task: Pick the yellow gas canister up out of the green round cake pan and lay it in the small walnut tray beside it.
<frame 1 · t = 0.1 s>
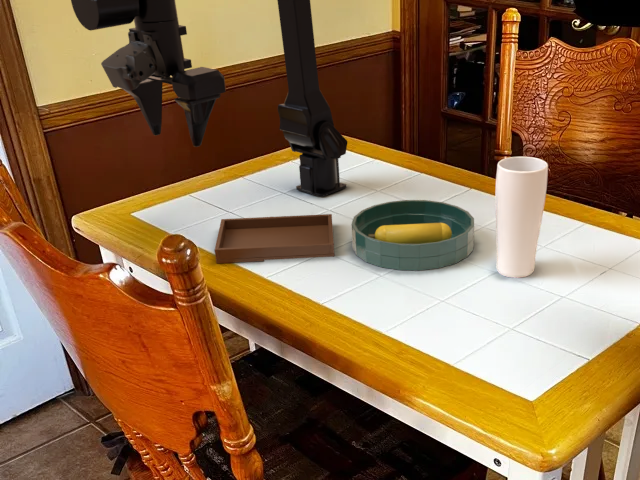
hand: (176, 140, 121), 15 cm above the table, tool pointing down, fingers open, 9 cm apart
green round cake pan: (413, 247, 127), on the table
yellow gas canister: (413, 245, 126), resting on green round cake pan
drinking glass: (514, 273, 119), on the table
tray: (277, 244, 128), on the table
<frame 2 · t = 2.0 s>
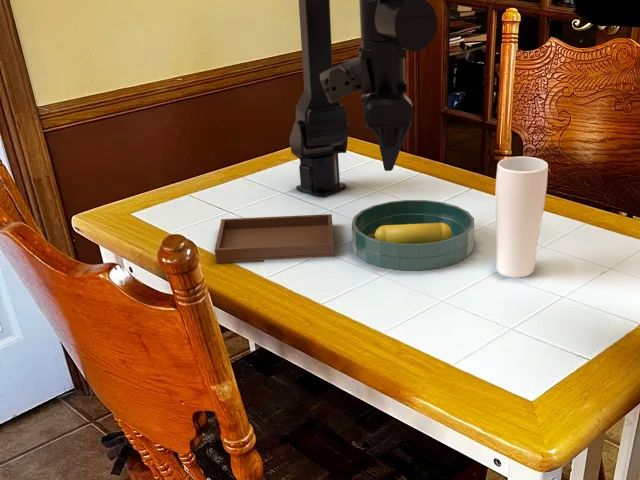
hand: (386, 160, 119), 13 cm above the table, tool pointing down, fingers open, 9 cm apart
nothing on the table moved.
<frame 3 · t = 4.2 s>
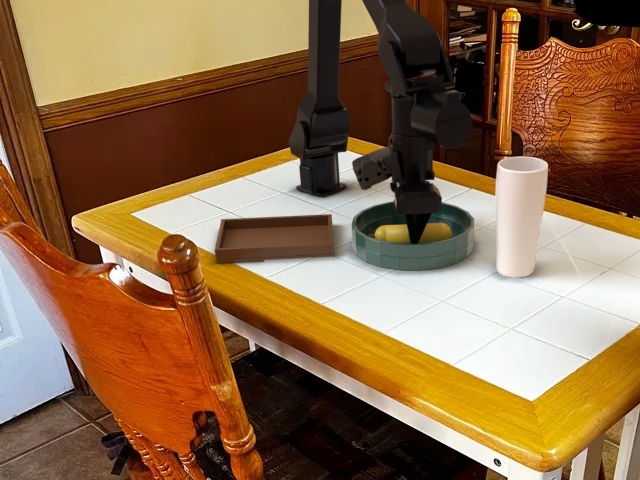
hand: (413, 239, 126), 1 cm above the table, tool pointing down, fingers closed on yellow gas canister, 3 cm apart
yellow gas canister: (413, 245, 126), resting on green round cake pan, touching gripper
everything else where it was.
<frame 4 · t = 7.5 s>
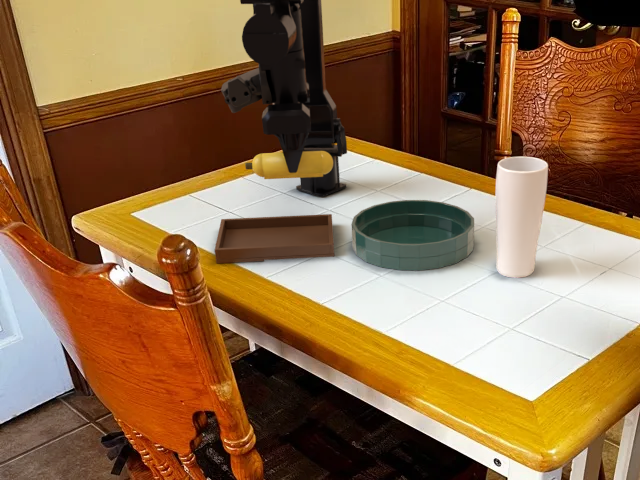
hand: (293, 168, 121), 11 cm above the table, tool pointing down, fingers closed on yellow gas canister, 3 cm apart
yellow gas canister: (293, 175, 121), point 10 cm above the table, touching gripper
everything else where it was.
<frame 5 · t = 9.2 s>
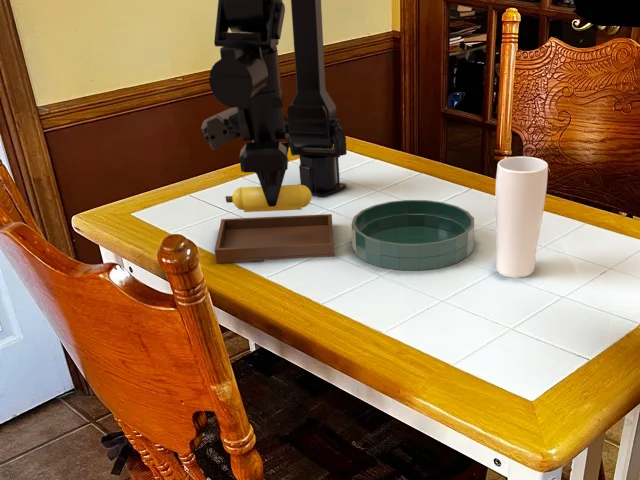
hand: (272, 201, 124), 7 cm above the table, tool pointing down, fingers closed on yellow gas canister, 3 cm apart
yellow gas canister: (273, 208, 125), point 6 cm above the table, touching gripper
everything else where it was.
when the fingers open (2 cm above the table, at t = 10.9 s): yellow gas canister stays where it is, resting on tray.
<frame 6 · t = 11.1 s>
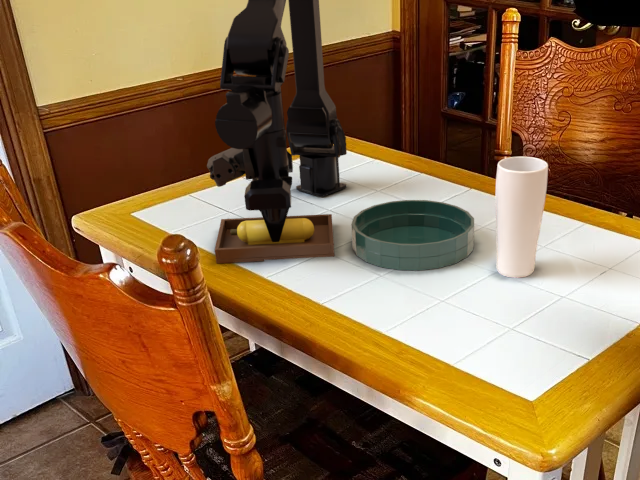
hand: (276, 235, 127), 1 cm above the table, tool pointing down, fingers open, 4 cm apart
yellow gas canister: (276, 240, 128), point 1 cm above the table, touching tray
everything else where it was.
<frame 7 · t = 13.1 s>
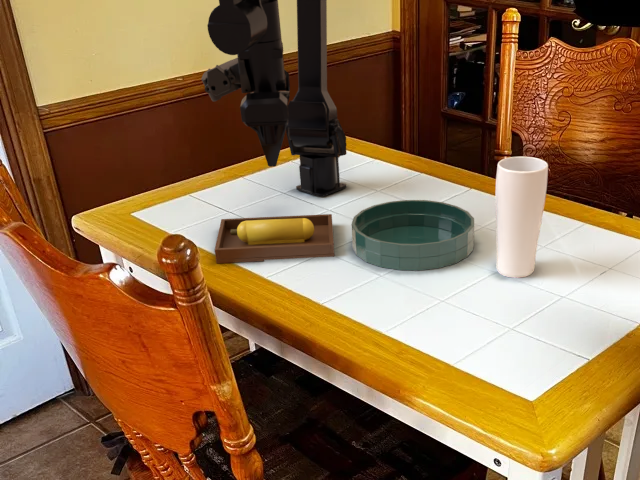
hand: (273, 156, 124), 12 cm above the table, tool pointing down, fingers open, 9 cm apart
nothing on the table moved.
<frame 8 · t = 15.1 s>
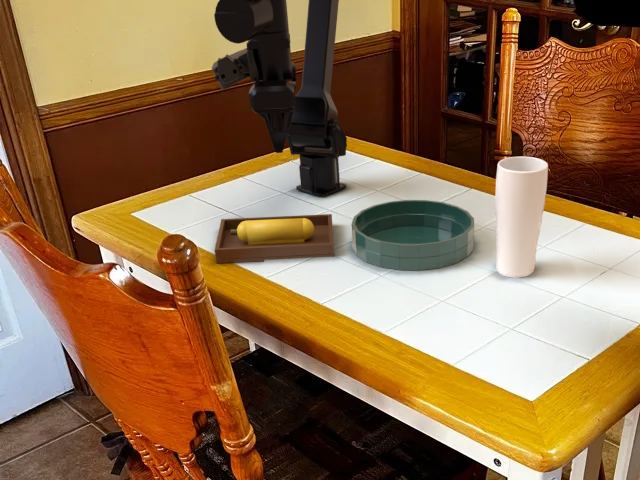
hand: (279, 143, 129), 12 cm above the table, tool pointing down, fingers open, 9 cm apart
nothing on the table moved.
at the end: yellow gas canister inside the target area in the tray (0.0 cm from its centre), point 0.6 cm above the tray's base; yellow gas canister touching tray; the gripper is holding nothing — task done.
